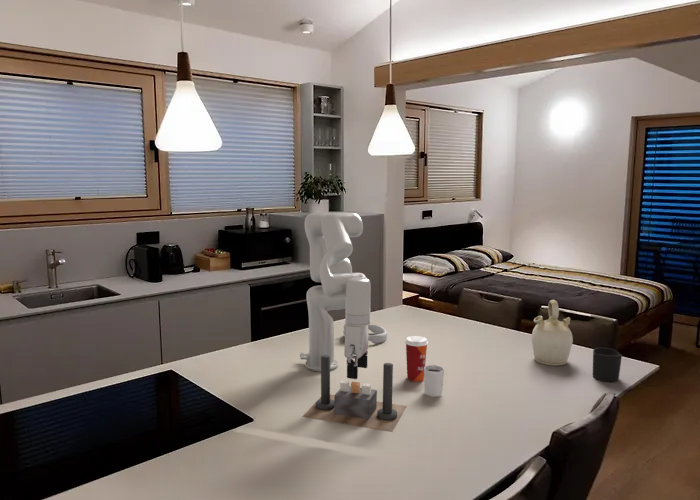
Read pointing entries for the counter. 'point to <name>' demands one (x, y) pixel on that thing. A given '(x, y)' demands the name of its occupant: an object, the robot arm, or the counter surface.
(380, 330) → the headphones
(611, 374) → the pen holder
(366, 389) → the paddle right
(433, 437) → the counter surface
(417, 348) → the coffee cup
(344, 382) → the paddle left
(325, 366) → the cord post left
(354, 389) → the paddle middle
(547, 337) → the jug
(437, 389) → the white cup
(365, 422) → the breaker panel
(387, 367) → the cord post right
